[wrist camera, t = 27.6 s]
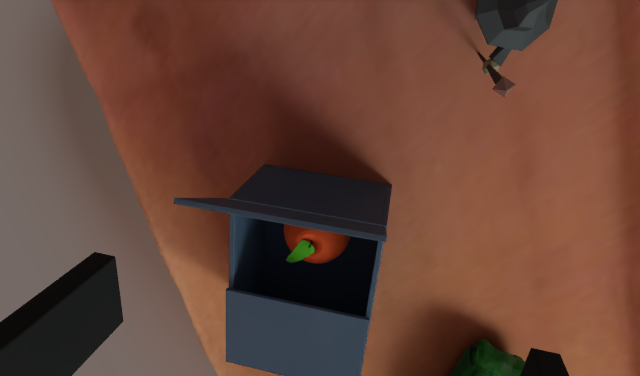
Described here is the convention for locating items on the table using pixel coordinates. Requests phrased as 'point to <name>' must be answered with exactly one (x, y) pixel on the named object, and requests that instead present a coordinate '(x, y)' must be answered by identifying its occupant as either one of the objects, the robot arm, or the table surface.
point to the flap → (288, 217)
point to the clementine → (313, 244)
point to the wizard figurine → (510, 31)
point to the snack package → (487, 362)
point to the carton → (302, 278)
